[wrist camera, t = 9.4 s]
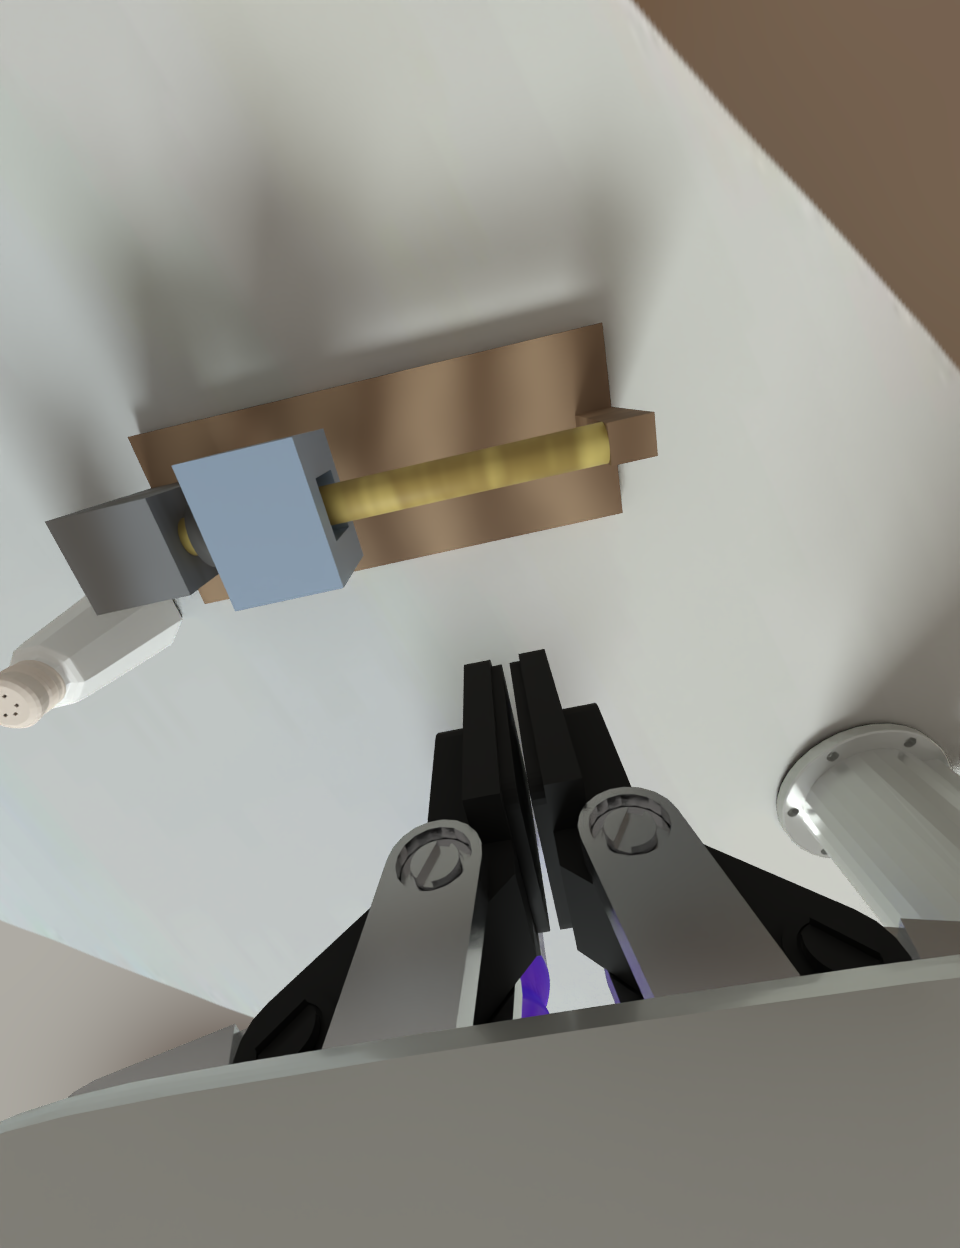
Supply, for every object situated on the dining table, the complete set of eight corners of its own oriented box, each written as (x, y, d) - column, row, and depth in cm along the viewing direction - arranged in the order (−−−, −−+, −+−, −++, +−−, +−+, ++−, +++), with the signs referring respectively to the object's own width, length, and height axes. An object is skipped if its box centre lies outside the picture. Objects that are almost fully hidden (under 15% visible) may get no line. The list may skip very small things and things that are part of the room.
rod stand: (596, 325, 28) (655, 296, 20) (617, 508, 32) (673, 552, 24) (140, 435, 30) (7, 453, 21) (213, 597, 34) (126, 668, 25)
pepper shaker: (201, 620, 35) (93, 714, 25) (146, 665, 36) (21, 772, 26) (133, 556, 33) (-15, 629, 23) (77, 605, 34) (-86, 696, 24)
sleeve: (323, 428, 25) (291, 437, 21) (363, 555, 28) (343, 587, 23) (223, 452, 26) (171, 465, 21) (272, 575, 28) (235, 611, 24)
